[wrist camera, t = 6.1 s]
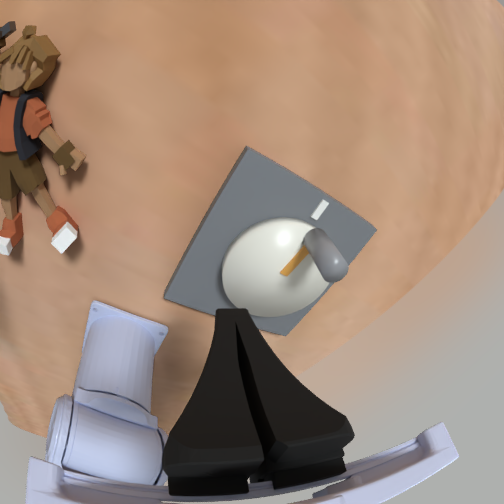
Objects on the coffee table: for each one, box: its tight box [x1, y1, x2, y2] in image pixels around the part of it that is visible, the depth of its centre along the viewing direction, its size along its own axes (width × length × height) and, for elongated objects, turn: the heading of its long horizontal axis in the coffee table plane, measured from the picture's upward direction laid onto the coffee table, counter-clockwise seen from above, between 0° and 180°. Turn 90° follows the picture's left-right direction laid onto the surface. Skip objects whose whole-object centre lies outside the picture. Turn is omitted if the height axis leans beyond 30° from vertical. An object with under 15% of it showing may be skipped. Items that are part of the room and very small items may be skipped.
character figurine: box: [0, 21, 86, 255], centre depth 13 cm, size 10×18×4 cm, turn 173°
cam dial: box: [222, 217, 349, 317], centre depth 21 cm, size 9×9×5 cm
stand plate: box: [164, 146, 377, 336], centre depth 23 cm, size 14×13×1 cm
